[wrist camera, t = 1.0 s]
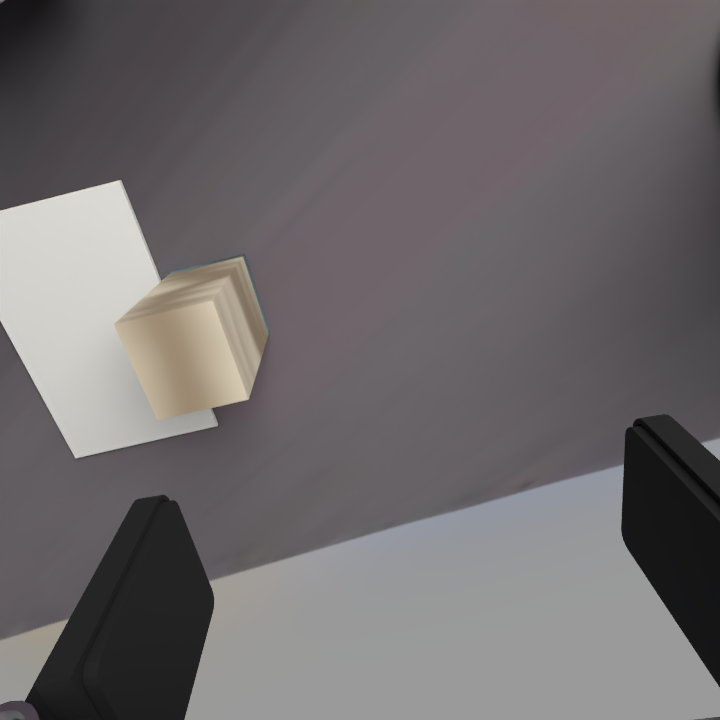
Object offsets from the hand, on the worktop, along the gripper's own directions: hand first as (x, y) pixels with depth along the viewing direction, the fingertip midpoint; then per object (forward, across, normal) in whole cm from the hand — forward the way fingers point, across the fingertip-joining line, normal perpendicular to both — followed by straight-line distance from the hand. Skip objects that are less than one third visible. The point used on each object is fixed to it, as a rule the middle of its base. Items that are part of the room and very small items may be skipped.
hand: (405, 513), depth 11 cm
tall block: (+22, +9, +1) cm, 24 cm away
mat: (+22, +17, +2) cm, 28 cm away
